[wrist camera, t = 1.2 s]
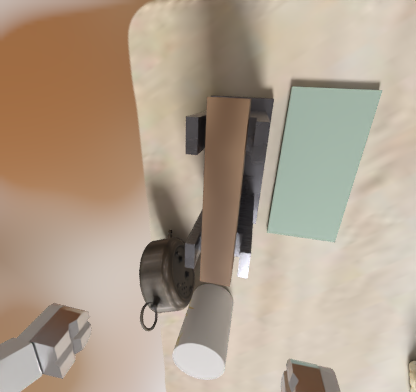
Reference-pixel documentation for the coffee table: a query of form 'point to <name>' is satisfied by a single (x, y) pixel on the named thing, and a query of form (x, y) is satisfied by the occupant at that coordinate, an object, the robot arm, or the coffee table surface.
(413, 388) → the storage basket
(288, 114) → the mat
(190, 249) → the hook stand
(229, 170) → the rail
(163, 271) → the alarm clock
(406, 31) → the coffee table surface
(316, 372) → the robot arm
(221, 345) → the white cylinder
